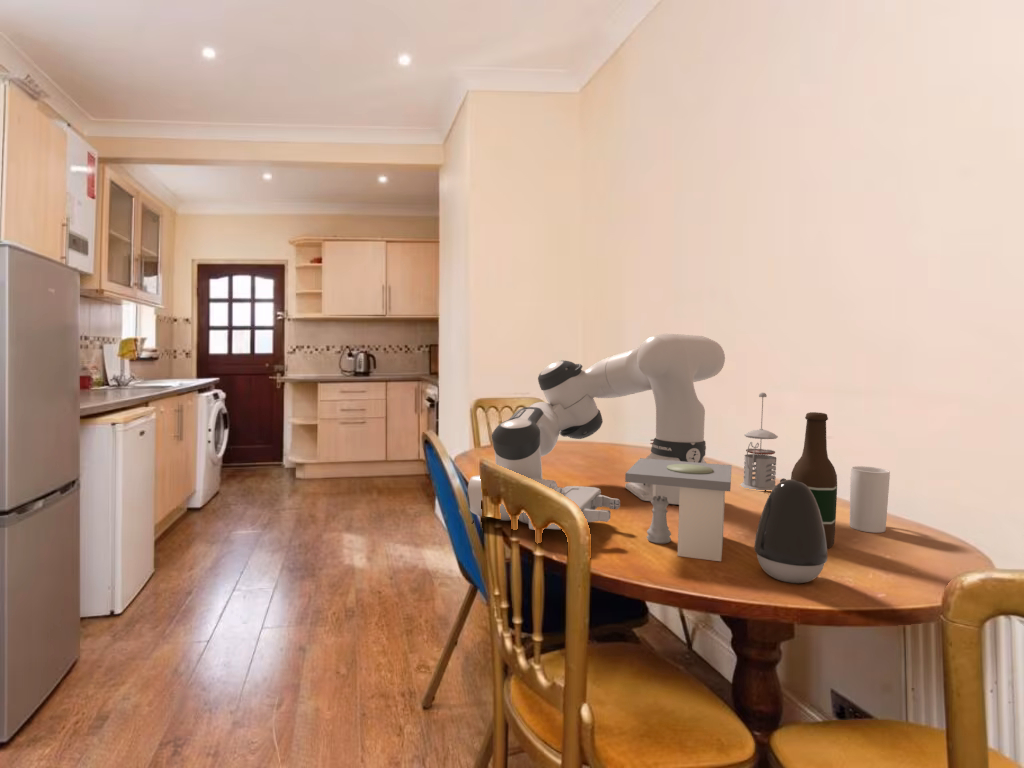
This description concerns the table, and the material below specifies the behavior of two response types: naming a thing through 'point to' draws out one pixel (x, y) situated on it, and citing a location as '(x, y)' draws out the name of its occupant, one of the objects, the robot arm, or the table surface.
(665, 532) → the rook chess piece
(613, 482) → the table surface
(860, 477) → the mug
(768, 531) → the dark grey egg speaker
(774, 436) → the french press
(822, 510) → the beer bottle
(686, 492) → the grey pedestal stand
